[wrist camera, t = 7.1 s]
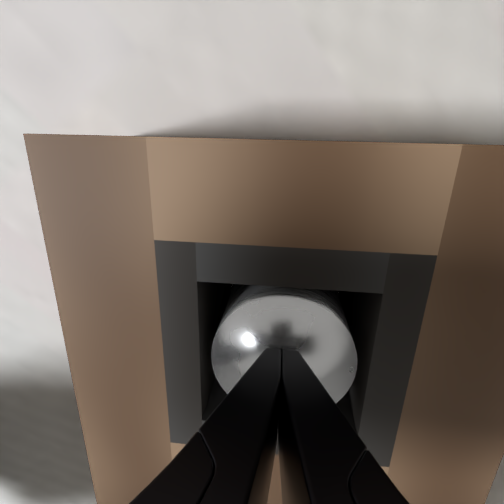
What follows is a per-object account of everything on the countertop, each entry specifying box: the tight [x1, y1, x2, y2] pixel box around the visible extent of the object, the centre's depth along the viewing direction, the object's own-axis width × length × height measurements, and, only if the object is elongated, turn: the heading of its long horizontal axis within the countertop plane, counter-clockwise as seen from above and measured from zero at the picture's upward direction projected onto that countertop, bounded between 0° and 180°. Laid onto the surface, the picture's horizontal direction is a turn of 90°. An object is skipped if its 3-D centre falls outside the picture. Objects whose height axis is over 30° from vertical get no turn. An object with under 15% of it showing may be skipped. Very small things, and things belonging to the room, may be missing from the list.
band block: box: [23, 134, 504, 504], centre depth 12 cm, size 12×22×5 cm, turn 179°
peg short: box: [211, 284, 357, 403], centre depth 11 cm, size 4×4×5 cm
